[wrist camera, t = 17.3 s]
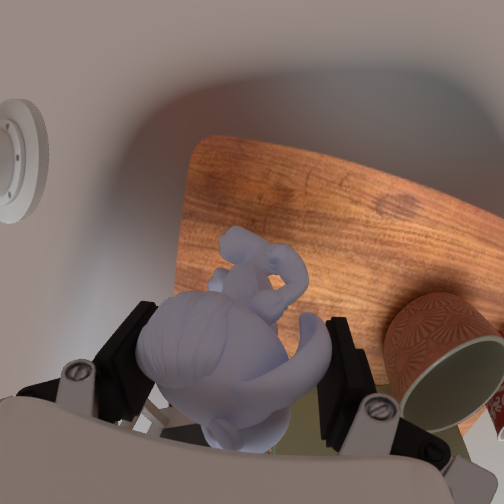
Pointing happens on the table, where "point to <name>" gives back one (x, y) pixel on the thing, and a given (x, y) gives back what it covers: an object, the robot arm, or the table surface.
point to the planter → (442, 361)
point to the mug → (497, 409)
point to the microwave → (309, 440)
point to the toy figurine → (237, 346)
